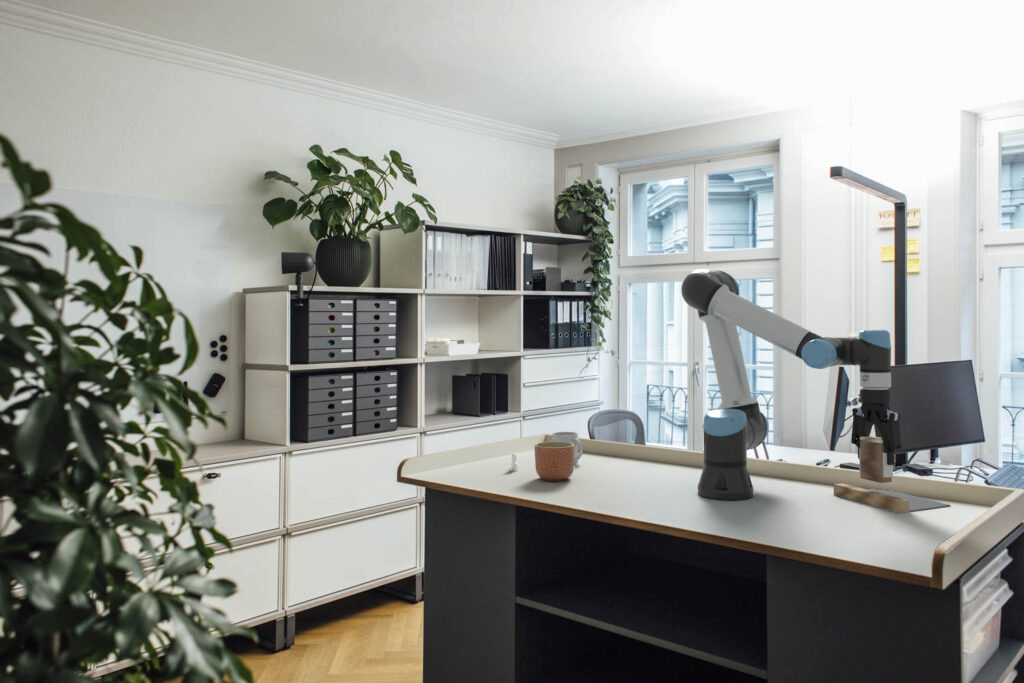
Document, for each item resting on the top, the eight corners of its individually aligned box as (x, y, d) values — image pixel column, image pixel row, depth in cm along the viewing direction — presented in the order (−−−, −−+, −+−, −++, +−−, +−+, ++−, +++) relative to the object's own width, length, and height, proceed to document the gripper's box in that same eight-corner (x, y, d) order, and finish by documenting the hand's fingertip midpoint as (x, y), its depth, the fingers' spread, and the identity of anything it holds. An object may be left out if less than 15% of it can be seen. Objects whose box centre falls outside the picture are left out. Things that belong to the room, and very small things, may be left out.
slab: (860, 478, 204) (860, 436, 204) (870, 476, 205) (870, 435, 205) (881, 483, 198) (881, 440, 197) (891, 481, 199) (891, 439, 199)
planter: (569, 484, 229) (568, 448, 229) (529, 482, 233) (529, 446, 233) (578, 476, 241) (578, 441, 241) (541, 474, 245) (540, 440, 245)
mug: (550, 460, 269) (550, 432, 269) (577, 459, 270) (576, 431, 270) (555, 466, 258) (555, 436, 258) (583, 465, 259) (582, 435, 259)
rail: (833, 494, 211) (833, 484, 211) (842, 493, 212) (842, 483, 212) (899, 513, 190) (899, 501, 190) (908, 512, 191) (908, 500, 191)
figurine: (508, 475, 246) (508, 456, 246) (497, 471, 253) (496, 453, 253) (529, 472, 250) (529, 454, 250) (517, 468, 257) (517, 450, 257)
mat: (843, 493, 212) (843, 492, 212) (881, 488, 217) (881, 487, 217) (910, 511, 192) (910, 510, 192) (950, 506, 197) (950, 504, 197)
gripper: (835, 386, 209) (836, 468, 210) (895, 391, 190) (896, 482, 191) (856, 384, 212) (857, 466, 212) (918, 390, 193) (918, 480, 194)
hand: (875, 474), depth 202 cm, fingers closed on slab, 7 cm apart
